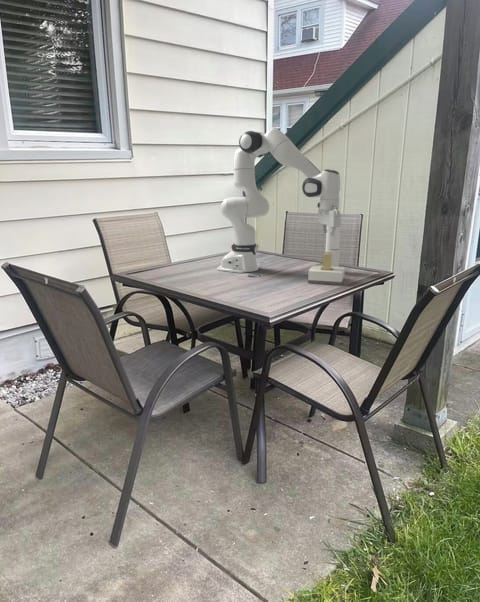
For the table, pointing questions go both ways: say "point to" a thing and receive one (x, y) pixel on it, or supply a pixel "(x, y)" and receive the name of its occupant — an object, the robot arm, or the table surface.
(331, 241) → the cylindrical container
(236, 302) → the table surface
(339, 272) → the socket block
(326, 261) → the brass peg
